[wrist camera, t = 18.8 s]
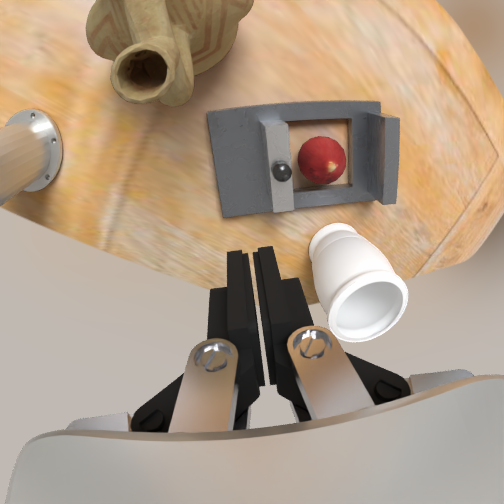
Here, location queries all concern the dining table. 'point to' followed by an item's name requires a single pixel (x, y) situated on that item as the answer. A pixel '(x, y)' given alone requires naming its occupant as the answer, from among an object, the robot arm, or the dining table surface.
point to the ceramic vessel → (162, 43)
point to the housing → (256, 192)
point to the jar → (355, 284)
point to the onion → (322, 160)
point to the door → (278, 165)
